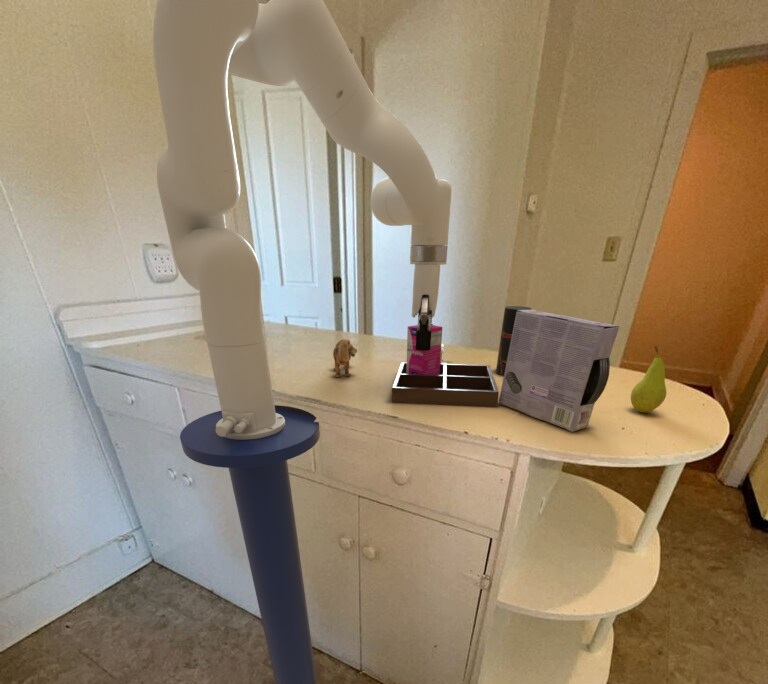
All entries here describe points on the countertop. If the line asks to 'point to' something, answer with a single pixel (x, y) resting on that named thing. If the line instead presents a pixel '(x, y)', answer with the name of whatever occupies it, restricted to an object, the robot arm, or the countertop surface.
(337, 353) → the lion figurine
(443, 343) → the stacked layers on plate
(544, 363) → the cake pan box
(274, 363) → the countertop surface
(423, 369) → the supplement box
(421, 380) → the grid
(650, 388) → the fruit
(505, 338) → the deodorant
